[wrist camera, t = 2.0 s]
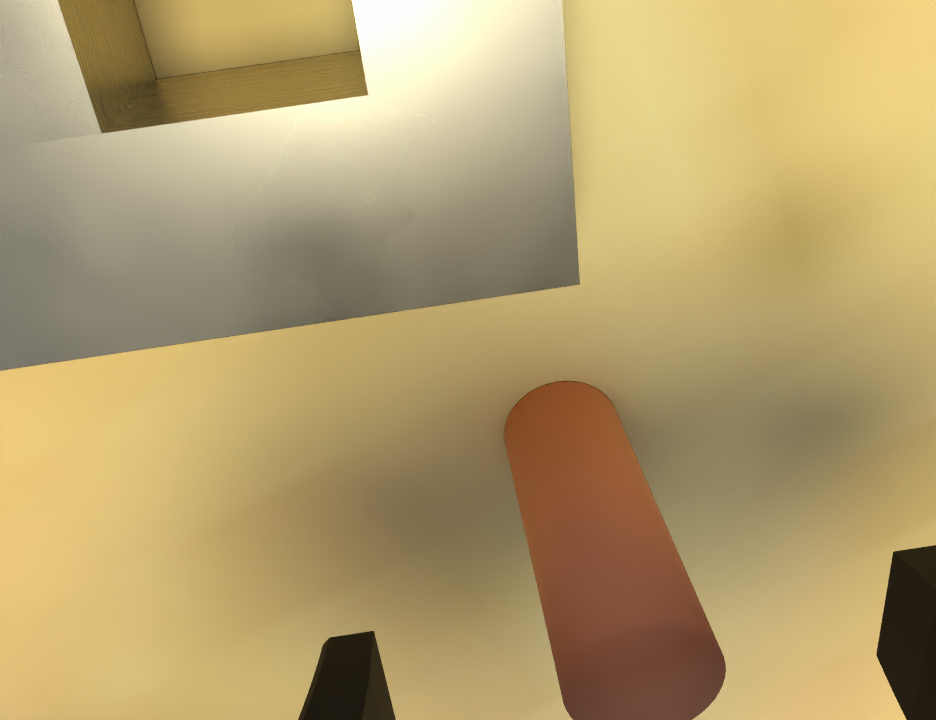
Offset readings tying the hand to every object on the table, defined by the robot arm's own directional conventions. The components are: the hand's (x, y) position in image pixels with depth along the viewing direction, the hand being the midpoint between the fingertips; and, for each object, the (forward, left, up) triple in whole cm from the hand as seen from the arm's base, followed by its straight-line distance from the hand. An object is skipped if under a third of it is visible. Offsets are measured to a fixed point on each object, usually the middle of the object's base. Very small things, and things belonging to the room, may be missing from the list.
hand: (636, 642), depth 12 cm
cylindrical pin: (0, 0, -5) cm, 5 cm away
